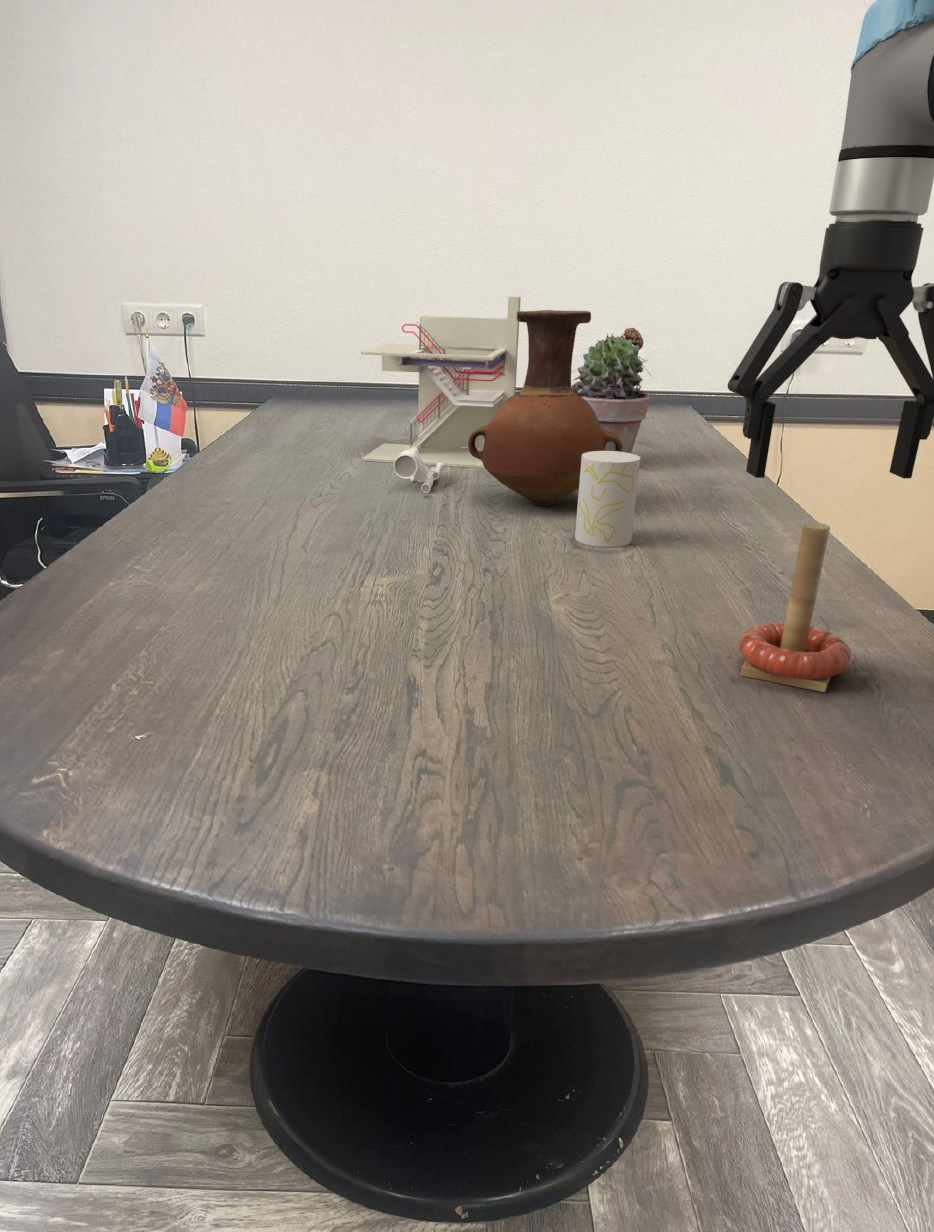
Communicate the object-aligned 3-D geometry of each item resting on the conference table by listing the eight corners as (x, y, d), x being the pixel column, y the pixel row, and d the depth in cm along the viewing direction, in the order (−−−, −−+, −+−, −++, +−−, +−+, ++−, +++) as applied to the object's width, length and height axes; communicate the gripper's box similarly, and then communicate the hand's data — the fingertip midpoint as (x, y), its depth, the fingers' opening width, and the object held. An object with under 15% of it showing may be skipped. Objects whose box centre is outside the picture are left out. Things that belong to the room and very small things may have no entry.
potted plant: (542, 469, 182) (551, 331, 172) (568, 451, 199) (578, 324, 188) (636, 478, 176) (652, 335, 166) (655, 459, 192) (670, 328, 182)
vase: (609, 492, 166) (627, 308, 153) (621, 521, 148) (643, 315, 135) (468, 487, 168) (474, 305, 155) (463, 516, 150) (469, 312, 137)
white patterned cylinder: (570, 543, 137) (577, 459, 131) (579, 529, 144) (586, 449, 138) (627, 549, 134) (636, 464, 129) (634, 534, 141) (643, 453, 136)
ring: (853, 654, 98) (858, 631, 96) (840, 691, 89) (845, 666, 88) (749, 635, 102) (753, 612, 101) (728, 669, 94) (732, 644, 93)
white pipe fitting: (425, 484, 177) (446, 465, 175) (417, 503, 164) (439, 482, 162) (396, 452, 175) (416, 433, 173) (385, 469, 163) (407, 447, 161)
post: (835, 664, 98) (866, 521, 91) (825, 692, 91) (857, 541, 85) (756, 649, 101) (780, 510, 95) (740, 675, 95) (765, 529, 89)
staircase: (359, 462, 186) (357, 297, 173) (384, 445, 202) (383, 293, 189) (497, 471, 180) (506, 301, 167) (512, 453, 196) (520, 296, 183)
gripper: (996, 223, 83) (939, 467, 92) (713, 220, 82) (683, 466, 91) (1050, 220, 76) (982, 484, 85) (742, 217, 75) (706, 483, 84)
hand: (827, 475), depth 88 cm, fingers open, 13 cm apart
